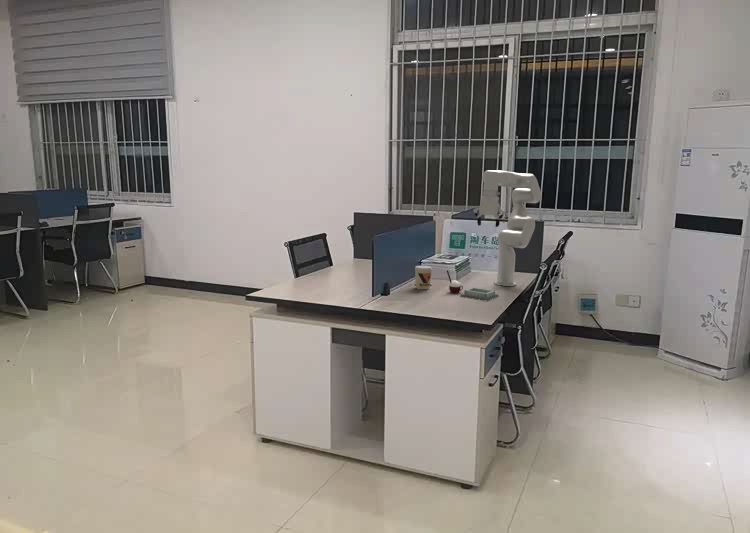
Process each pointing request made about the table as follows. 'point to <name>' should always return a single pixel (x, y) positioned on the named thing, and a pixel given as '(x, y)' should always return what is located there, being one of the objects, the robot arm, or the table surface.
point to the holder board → (479, 293)
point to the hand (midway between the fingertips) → (488, 226)
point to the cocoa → (454, 285)
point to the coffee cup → (423, 277)
